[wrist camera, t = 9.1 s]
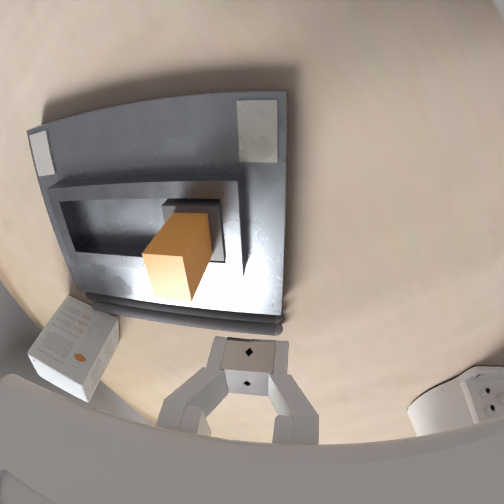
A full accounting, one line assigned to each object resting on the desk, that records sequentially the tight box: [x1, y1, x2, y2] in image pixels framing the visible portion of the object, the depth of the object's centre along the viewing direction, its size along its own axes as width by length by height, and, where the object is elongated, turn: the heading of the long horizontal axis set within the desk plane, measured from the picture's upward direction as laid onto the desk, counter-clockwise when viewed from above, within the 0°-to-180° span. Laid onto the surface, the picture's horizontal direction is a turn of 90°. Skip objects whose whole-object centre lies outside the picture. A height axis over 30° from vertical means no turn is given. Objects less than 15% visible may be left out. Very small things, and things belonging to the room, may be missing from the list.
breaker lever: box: [142, 198, 225, 302], centre depth 19 cm, size 4×4×6 cm
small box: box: [28, 295, 119, 402], centre depth 30 cm, size 8×6×10 cm
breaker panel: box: [27, 90, 287, 315], centre depth 22 cm, size 22×18×4 cm
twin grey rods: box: [86, 292, 284, 336], centre depth 30 cm, size 22×3×1 cm, turn 93°
